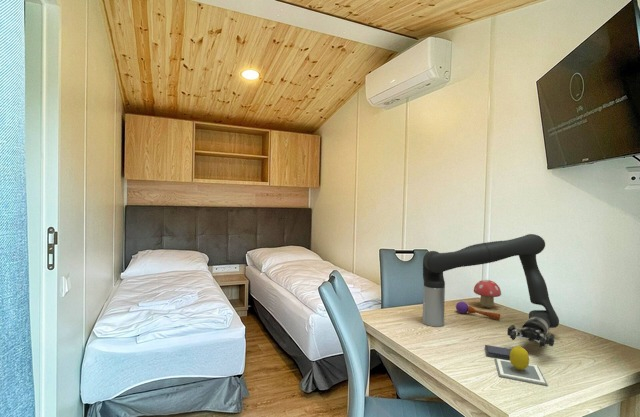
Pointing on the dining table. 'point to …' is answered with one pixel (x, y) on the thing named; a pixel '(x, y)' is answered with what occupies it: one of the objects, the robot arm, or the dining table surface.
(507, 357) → the ink pad
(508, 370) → the marked board
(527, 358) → the lemon
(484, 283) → the decorative mushroom
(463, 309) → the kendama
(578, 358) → the dining table surface
